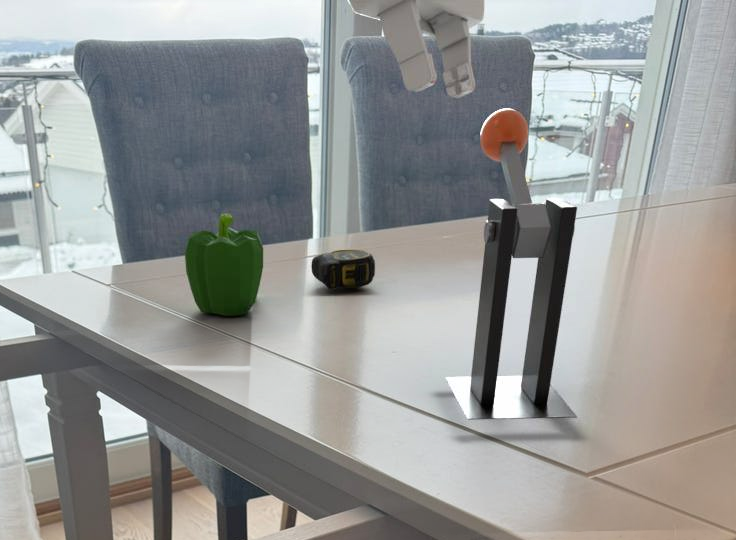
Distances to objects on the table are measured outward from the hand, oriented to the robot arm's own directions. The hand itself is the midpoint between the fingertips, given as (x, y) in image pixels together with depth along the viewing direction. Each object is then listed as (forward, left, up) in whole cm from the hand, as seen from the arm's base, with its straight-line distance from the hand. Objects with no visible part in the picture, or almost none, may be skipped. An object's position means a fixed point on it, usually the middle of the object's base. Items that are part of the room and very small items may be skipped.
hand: (443, 91), depth 64 cm
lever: (-6, -2, -7) cm, 10 cm away
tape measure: (+4, -39, -22) cm, 45 cm away
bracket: (-6, +4, -21) cm, 23 cm away
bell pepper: (+17, -29, -22) cm, 40 cm away
